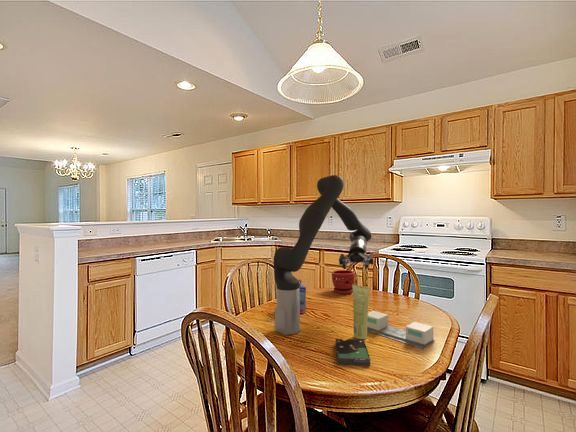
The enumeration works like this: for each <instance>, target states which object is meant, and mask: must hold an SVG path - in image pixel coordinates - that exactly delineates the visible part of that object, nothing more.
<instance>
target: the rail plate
mask: <svg viewBox="0 0 576 432" xmlns="http://www.w3.org/2000/svg"><path fill="white" fill-rule="evenodd" d="M367 333H372V334H375V335H378V336H381V337H384V338H387V339H391V340H394V341H397V342H400V343H403V344H406V345H409V346H413V347H414V348H415V347H416V348H419V349H421V350H424V348H427V347H428V346H430V344H432V343H434V342H435V341H436V339H435V338H434V337H433V339H432V340H431V341H429V342H428V343H427V344H425V345H424V344H421V343H418V342H415V341H411V340H408V339H406V329H402V328H399V327H396V326H393V325H389V324H388V326H386V327H384V328H382V329H380V330H376V329H373V328H370V327H367Z"/></svg>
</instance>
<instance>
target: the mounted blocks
mask: <svg viewBox="0 0 576 432" xmlns="http://www.w3.org/2000/svg"><path fill="white" fill-rule="evenodd" d="M388 325H389V314H387V313H384V312H380V311H377V310H372V311H368V321H367V327H370V328H373V329H376V330H380V329H382V328H384V327H386V326H388ZM405 330H406V339H408V340H411V341H415V342H418V343H421V344H424V345H425V344H427V343H428V342H429V341H431V340H432V339H433V338H434V326H433V325H429V324H425V323H421V322H418V321H413V322H411V323H410V324H407V325H406V326H405Z"/></svg>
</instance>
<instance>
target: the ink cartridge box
mask: <svg viewBox="0 0 576 432" xmlns="http://www.w3.org/2000/svg"><path fill="white" fill-rule="evenodd" d="M298 280H299V284H300V287H299V288H300V314H306V310H307V309H306V307H307V305H306V303H307V302H306V301H307V300H306V299H307V298H306V297H307V296H306V295H307V292H306V291H307V290H306V289H307V287H306V286H304V285H303V284H302V282H303V281H302V280H301V279H300V278H299V279H298Z"/></svg>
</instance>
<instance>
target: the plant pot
mask: <svg viewBox="0 0 576 432" xmlns="http://www.w3.org/2000/svg"><path fill="white" fill-rule="evenodd" d="M355 277H356V276H355V271H353V270H350V269H349V270H348V269H342V270H341V269H339V270H332V271H331V281H332V284H333V291H334V292H335V293H337V294H341V295H342V294H343V295H344V294H345V295H346V294H348V295H349V294H353V287H352V284H354V285H355Z"/></svg>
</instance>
